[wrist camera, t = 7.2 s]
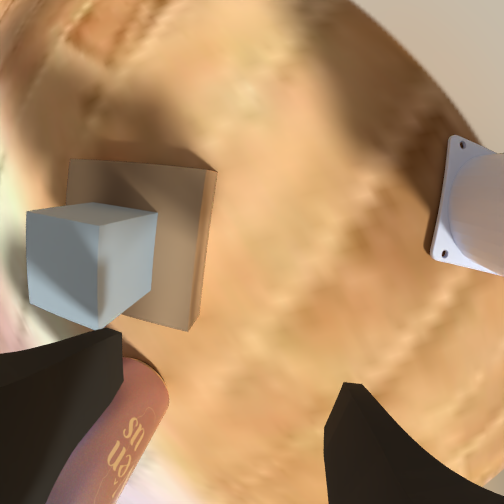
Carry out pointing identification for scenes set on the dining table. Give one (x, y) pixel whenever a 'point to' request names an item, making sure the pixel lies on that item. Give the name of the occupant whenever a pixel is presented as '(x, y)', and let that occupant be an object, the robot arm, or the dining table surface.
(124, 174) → the tan block
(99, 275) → the pale grey-blue block
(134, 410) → the beverage can
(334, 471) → the robot arm
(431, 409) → the dining table surface
